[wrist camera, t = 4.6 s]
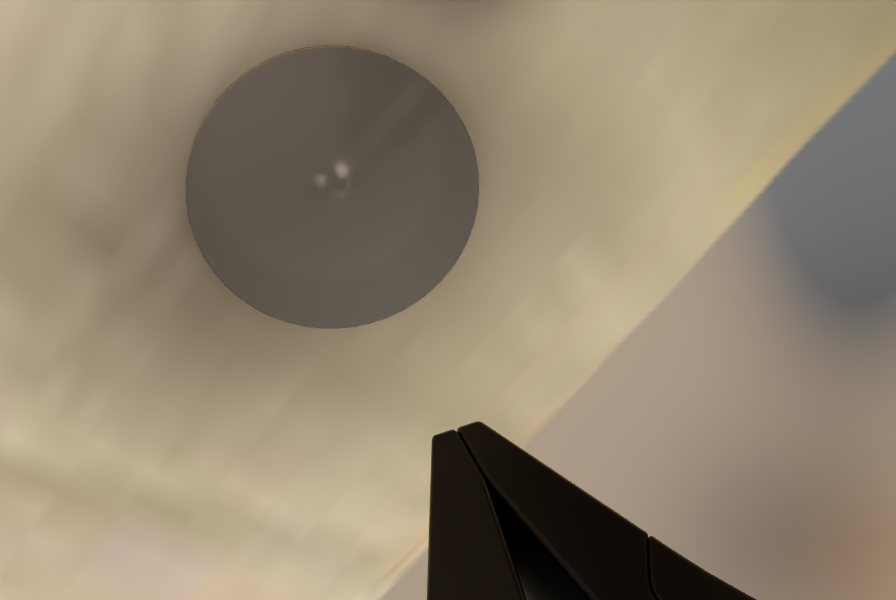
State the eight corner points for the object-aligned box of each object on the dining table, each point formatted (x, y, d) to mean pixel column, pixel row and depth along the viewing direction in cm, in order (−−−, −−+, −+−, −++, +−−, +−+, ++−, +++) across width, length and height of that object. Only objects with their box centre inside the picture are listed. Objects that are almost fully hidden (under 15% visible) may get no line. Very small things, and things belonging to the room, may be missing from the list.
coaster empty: (457, 21, 19) (463, 22, 18) (484, 283, 24) (490, 289, 24) (136, 77, 17) (132, 80, 16) (242, 350, 22) (242, 359, 22)
